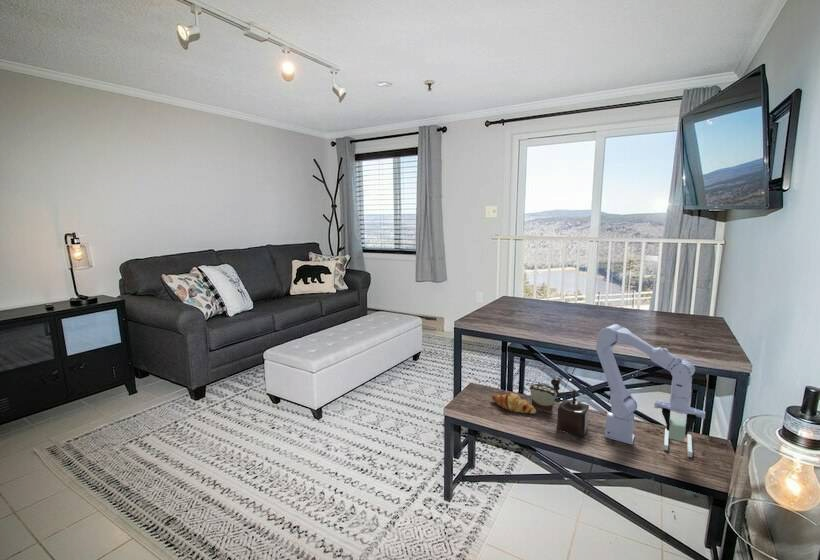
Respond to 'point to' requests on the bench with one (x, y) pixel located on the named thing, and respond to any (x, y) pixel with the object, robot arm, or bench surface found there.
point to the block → (677, 429)
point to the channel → (687, 440)
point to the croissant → (514, 403)
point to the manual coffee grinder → (571, 413)
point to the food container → (543, 397)
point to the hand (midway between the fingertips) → (676, 431)
